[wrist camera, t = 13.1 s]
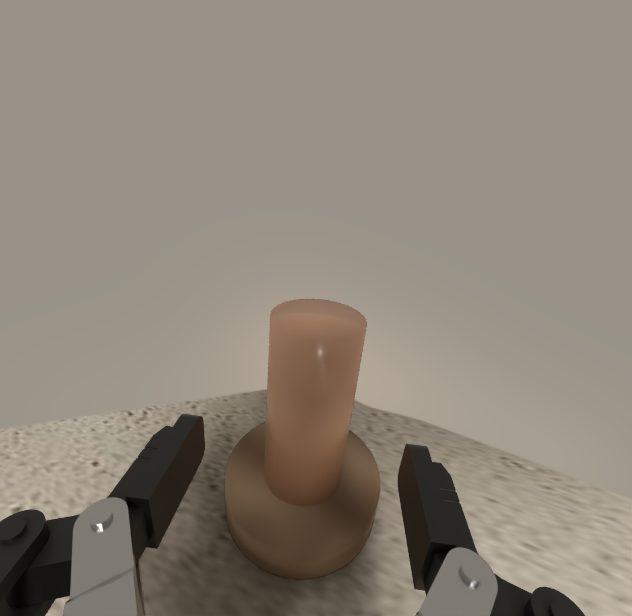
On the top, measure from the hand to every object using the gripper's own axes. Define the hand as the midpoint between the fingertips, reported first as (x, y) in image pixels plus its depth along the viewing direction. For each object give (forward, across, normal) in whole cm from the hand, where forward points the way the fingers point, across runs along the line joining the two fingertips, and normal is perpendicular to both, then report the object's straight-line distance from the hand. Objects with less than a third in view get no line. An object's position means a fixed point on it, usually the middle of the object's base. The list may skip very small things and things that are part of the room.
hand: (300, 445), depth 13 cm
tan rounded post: (+6, 0, +8) cm, 10 cm away
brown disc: (+6, 0, +10) cm, 12 cm away
